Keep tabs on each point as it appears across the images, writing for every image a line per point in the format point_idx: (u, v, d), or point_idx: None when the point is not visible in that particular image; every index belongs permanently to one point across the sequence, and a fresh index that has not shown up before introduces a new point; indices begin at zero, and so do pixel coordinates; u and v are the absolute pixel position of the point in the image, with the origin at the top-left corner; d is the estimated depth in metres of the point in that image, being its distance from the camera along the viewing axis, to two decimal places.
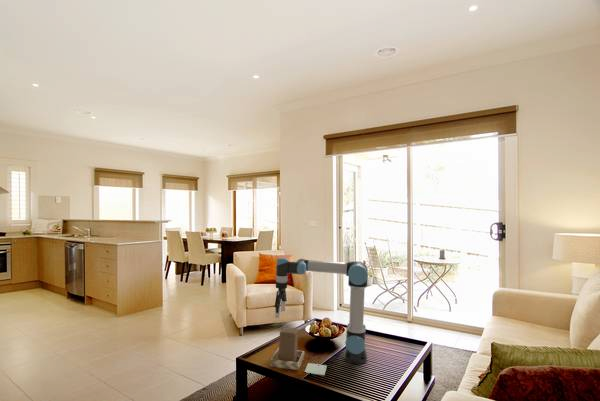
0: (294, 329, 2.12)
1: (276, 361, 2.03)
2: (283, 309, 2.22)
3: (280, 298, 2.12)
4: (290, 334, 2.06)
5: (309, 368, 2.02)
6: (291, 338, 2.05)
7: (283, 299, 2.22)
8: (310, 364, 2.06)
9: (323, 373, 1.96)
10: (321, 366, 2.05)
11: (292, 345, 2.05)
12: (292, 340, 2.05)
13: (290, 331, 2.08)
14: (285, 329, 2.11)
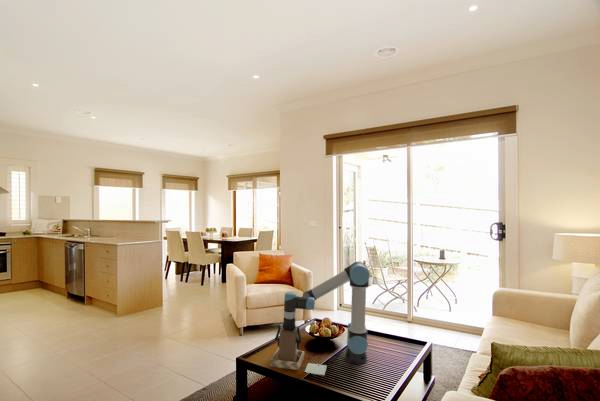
0: (294, 329, 2.12)
1: (276, 361, 2.03)
2: None
3: None
4: (290, 334, 2.06)
5: (309, 368, 2.02)
6: (291, 338, 2.05)
7: None
8: (310, 364, 2.06)
9: (323, 373, 1.96)
10: (321, 366, 2.05)
11: (292, 345, 2.05)
12: (292, 340, 2.05)
13: (290, 331, 2.08)
14: None
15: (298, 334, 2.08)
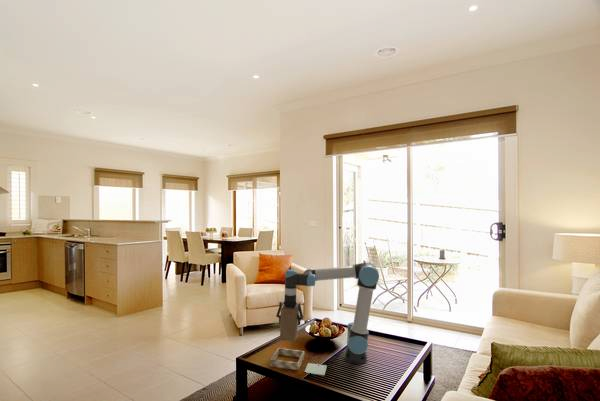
0: (295, 306, 2.12)
1: (276, 361, 2.03)
2: None
3: None
4: (291, 310, 2.06)
5: (309, 368, 2.02)
6: (292, 314, 2.06)
7: None
8: (310, 364, 2.06)
9: (323, 373, 1.96)
10: (321, 366, 2.05)
11: (293, 321, 2.05)
12: (293, 316, 2.05)
13: (291, 308, 2.08)
14: None
15: (299, 310, 2.09)
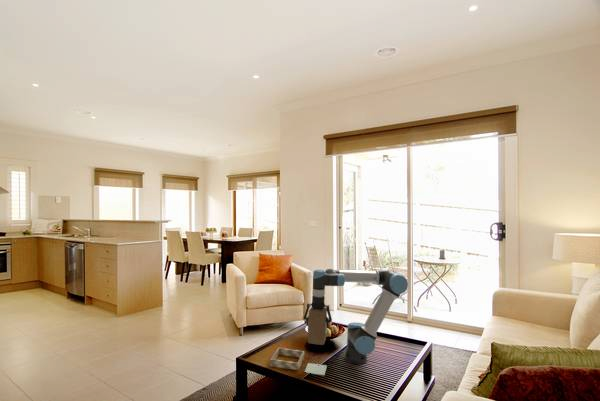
0: (323, 308, 2.04)
1: (276, 361, 2.03)
2: (325, 330, 2.01)
3: None
4: (320, 312, 1.97)
5: (309, 368, 2.02)
6: (321, 316, 1.97)
7: None
8: (310, 364, 2.06)
9: (323, 373, 1.96)
10: (321, 366, 2.05)
11: (322, 323, 1.97)
12: (322, 319, 1.97)
13: (319, 310, 2.00)
14: None
15: (328, 313, 2.00)
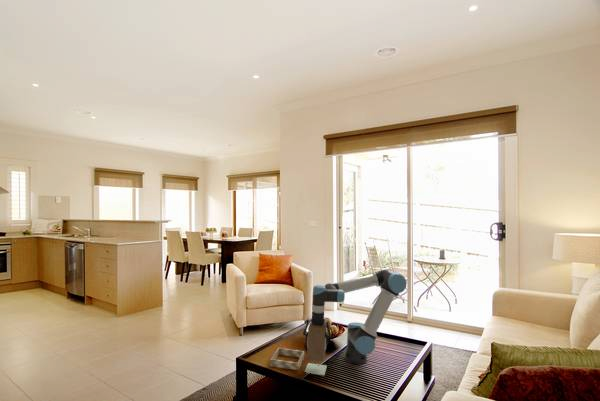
0: (323, 324, 2.03)
1: (276, 361, 2.03)
2: None
3: None
4: (319, 329, 1.97)
5: (309, 368, 2.02)
6: (320, 333, 1.97)
7: None
8: (310, 364, 2.06)
9: (323, 373, 1.96)
10: (321, 366, 2.05)
11: (321, 340, 1.96)
12: (322, 335, 1.97)
13: (319, 326, 1.99)
14: None
15: (327, 329, 2.00)
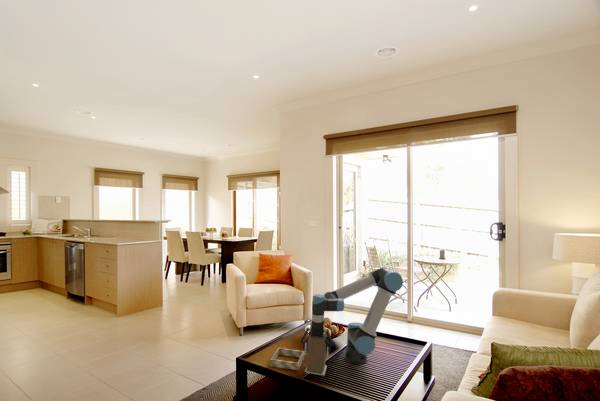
0: None
1: (276, 361, 2.03)
2: None
3: None
4: (319, 340, 1.97)
5: None
6: (320, 344, 1.97)
7: None
8: None
9: (323, 373, 1.96)
10: None
11: (321, 351, 1.96)
12: (321, 346, 1.96)
13: (319, 337, 1.99)
14: (313, 335, 2.03)
15: (328, 337, 2.00)
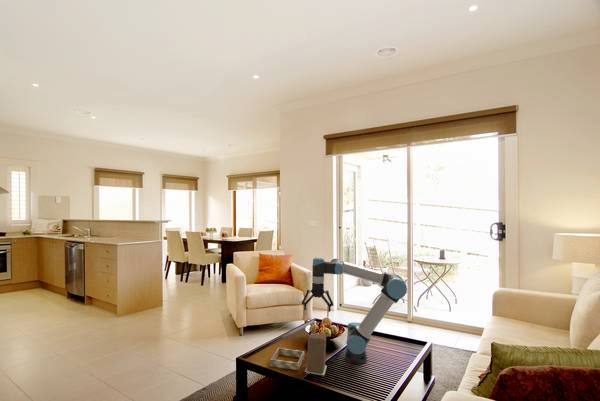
0: (322, 335, 2.03)
1: (276, 361, 2.03)
2: (327, 314, 2.09)
3: (310, 297, 2.10)
4: (319, 340, 1.97)
5: None
6: (320, 344, 1.97)
7: None
8: None
9: (323, 373, 1.96)
10: None
11: (321, 351, 1.96)
12: (321, 346, 1.96)
13: (319, 337, 1.99)
14: (313, 335, 2.03)
15: (328, 297, 2.08)
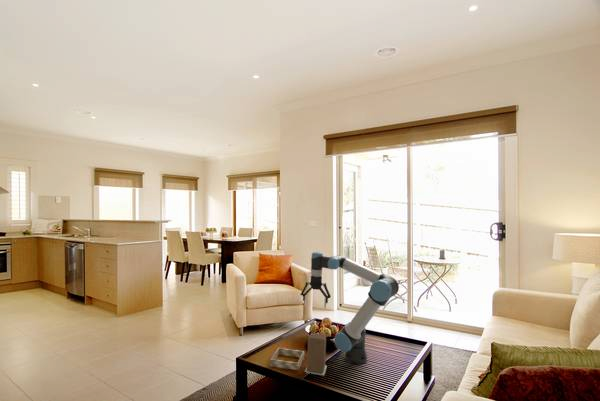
0: (322, 335, 2.03)
1: (276, 361, 2.03)
2: (324, 305, 2.21)
3: (308, 289, 2.23)
4: (319, 340, 1.97)
5: None
6: (320, 344, 1.97)
7: None
8: None
9: (323, 373, 1.96)
10: None
11: (321, 351, 1.96)
12: (321, 346, 1.96)
13: (319, 337, 1.99)
14: (313, 335, 2.03)
15: (326, 290, 2.21)
